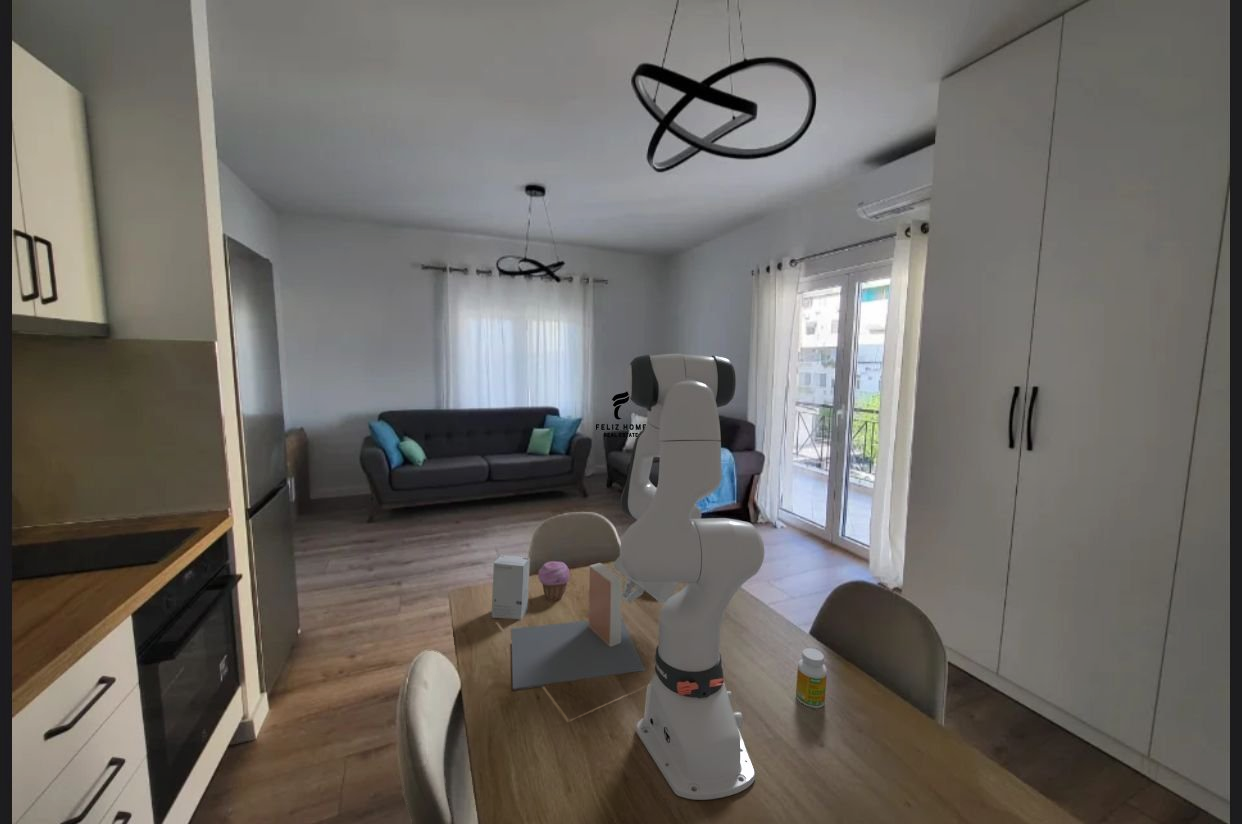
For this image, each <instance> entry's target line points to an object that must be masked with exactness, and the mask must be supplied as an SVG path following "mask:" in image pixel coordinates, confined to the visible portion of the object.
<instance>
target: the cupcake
mask: <svg viewBox="0 0 1242 824" xmlns="http://www.w3.org/2000/svg"><path fill="white" fill-rule="evenodd" d="M570 577H571V576H570V569H569V567H568V565H567V564H566V563H565V562H563V561H547V562H545V563H544V564H542V566H541V567H540V569H539V570H538V580H539V581H540V583H541V584H542V590H543V594H544V596H545V597H546V598H547V600H548V601H555V599H556V600H558V599H561V598H562V597H563V596H564V594H565V592H566V589H567V588H566V587H567V584H568V582H569V581H570Z"/></svg>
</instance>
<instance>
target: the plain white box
mask: <svg viewBox="0 0 1242 824" xmlns="http://www.w3.org/2000/svg"><path fill="white" fill-rule="evenodd" d="M588 584H589V590H588V591H589V592H588V593H589V595H588V596H589V597H588V600H589V601H588V602H589V605H588V621H589V627H590V628H591V629H592V630H593V631H594V632H595V633H596V634H597V635H598V636H599V637H600V638H601V639H602V640H603V641H605V642H606V643H607V644H608V645H609V646H610V647H611V646H614V645H617V644H619V643H621V617H622V612H623V611H622V610H623V609H622V608H623V606H622V605H623V602H622V601H623V598H622V593H623V577H622V576H620V575H618V574H617V573H615V572H614V571H612V570H611V569H610V568H608V567H607V566H605V565H604V564H603V563H602V562H598V563H594V564H590V565H589V583H588Z"/></svg>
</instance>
